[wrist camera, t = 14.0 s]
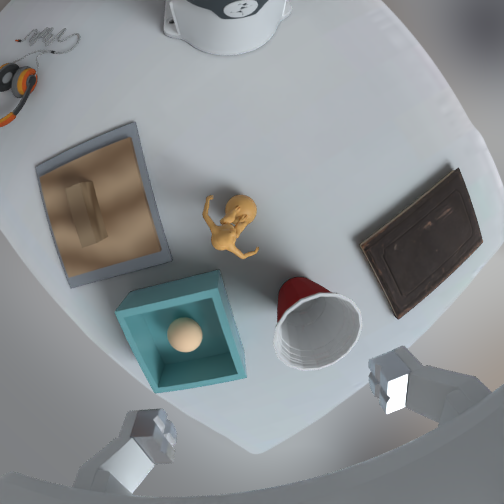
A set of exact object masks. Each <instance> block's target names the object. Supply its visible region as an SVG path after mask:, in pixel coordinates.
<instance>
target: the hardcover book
mask: <svg viewBox="0 0 504 504" xmlns="http://www.w3.org/2000/svg"><path fill="white" fill-rule="evenodd" d="M482 243H483V240H482V236H481V232H480V228H479V225H478V221H477V218H476V215H475V211H474V208H473V205H472V202H471V199H470V196H469V193H468V191H467V188H466V185H465V182H464V180H463V177H462V174H461V172H460V169H459V168H457V169H456V170H452V171H451V172H450V173H449V174H448V175H447V176H445V177H444V178H443V179H442V180H441V181H439V182H438V183H437V184H436V185H435V186H433V187H432V188H431V189H430V190H429V191H427V192H426V193H425V194H424V195H422V196H421V197H420V198H419V199H418V200H416V201H415V202H414V203H413V204H411V205H410V206H409V207H408V208H406V209H405V210H404V211H402V212H401V213H400V214H399V215H397V216H396V217H395V218H394V219H392V220H391V221H390V222H388V223H387V224H386V225H385V226H383V227H382V228H381V229H379V230H378V231H377V232H375V233H374V234H373V235H371V236H370V237H369V238H367V239H366V240H365V241H363V242H362V243H361V244H359V245H360V247H361V249H362V250H363V252H364V254H365V256H366V258H367V260H368V262H369V263H370V265H371V267H372V269H373V271H374V273H375V275H376V277H377V279H378V281H379V283H380V285H381V287H382V289H383V291H384V293H385V295H386V297H387V299H388V301H389V303H390V305H391V307H392V309H393V311H394V313H395V317H396V318H397V319H400V318H401V317H403V316H404V315H405V314H406V313H407V312H409V311H410V310H411V309H412V308H414V307H415V306H416V305H417V304H418V303H420V302H421V301H422V300H423V299H424V298H425V297H427V296H428V295H429V294H430V293H431V292H432V291H433V290H435V289H436V288H437V287H438V286H439V285H440V284H441V283H442V282H443V281H445V280H446V279H447V278H448V277H449V276H450V275H451V274H452V273H453V272H454V271H455V270H456V269H457V268H458V267H459V266H460V265H461V264H462V263H463V262H464V261H465V260H466V259H467V258H468V257H469V256H470V255H471V254H472V253H473V252H474V251H475V250H476V249H477V248H478V247H479V246H480V245H481V244H482Z"/></svg>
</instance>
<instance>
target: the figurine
mask: <svg viewBox="0 0 504 504" xmlns="http://www.w3.org/2000/svg"><path fill="white" fill-rule="evenodd" d="M210 196H211V195H210ZM210 196H209V197H208V196H207V198H206V203H205V206H204V211H203V214H202V215H203V218H204V219H205V221H206V223H207V224H208V226H209V227H210V230H211V232H212V237H211V243H212V245H213V247H214V248H215V249H217V250H228V251H230V252H232V253H234V254H235V255H237V256H238V257H239V258H241V259H245V258H247V257H249V256H252V255H254V254H256V253H257V252H258V250H259V249H258V248H259V247H258V248H257V247H256V249H255V251H251V252H248V253H245V254H243V253H242V252H241V251H240V250H239V249H238V248H236V246H235V241H236V238H238V237H239V235H240V233H241V232H242V231H243V230H244V228H245V227H246V226H247V225H248V224H249V223H251V222H252V221H253V220H254V218H255V216H256V212H257V208H256V204H255V202H254V201H253V200H252V199H251V198H250V197H248V196H246V195H236V196H234V197H232V198H231V199H230V200H229V201H228V202H227V204H226V208H225V213H226V215H225V217H224V218H222V219H221V220H220V223H221V224H222V225H221V226H217V225H215V223H214V222H213V221H212V219H211V218H210V217H209V216H208V208H209V200H211V199H213V198H211V197H212V196H213V195H212V196H211V197H210ZM230 223H232V224H234V225H235V226H233V225H232V224H230Z"/></svg>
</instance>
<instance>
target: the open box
mask: <svg viewBox="0 0 504 504" xmlns="http://www.w3.org/2000/svg"><path fill="white" fill-rule="evenodd" d="M115 314H116V317H117V319H118V321H119V323H120V326H121V328H122V330H123V332H124V334H125V337H126V339H127V341H128V343H129V345H130V347H131V349H132V351H133V353H134V355H135V357H136V359H137V361H138V363H139V365H140V367H141V369H142V371H143V373H144V375H145V377H146V378H147V380H148V382H149V384H150V386H151V388H152V389H153V391H154V393H162V392H170V391H177V390H184V389H190V388H196V387H202V386H208V385H213V384H219V383H224V382H229V381H234V380H238V379H243V378H247V374H246V364H245V353H244V348H243V345H242V342H241V339H240V336H239V333H238V329H237V326H236V323H235V320H234V316H233V313H232V310H231V307H230V303H229V300H228V297H227V293H226V290H225V287H224V283H223V280H222V277H221V273H220V270H215V271H211V272H207V273H203V274H199V275H195V276H191V277H187V278H183V279H179V280H175V281H171V282H167V283H163V284H159V285H155V286H151V287H147V288H143V289H139V290H135V291H131V292H130V293H129V294H128V295H127V296H126V298H125V299H124V300H123V302H122V303H121V304H120V305H119V307H118V308H117V309H116V311H115ZM182 317H187V318H191V319H193V320H194V321H196V322H197V323H198V324H199V326H200V327H201V330H202V341H201V343H200V345H199V346H198V347H197V348H196V349H195V350H193V351H191V352H180V351H178V350H176V349H174V348H173V347H172V346H171V344H170V343H169V341H168V337H167V331H168V328H169V326H170V324H171V323H172V322H173V321H174V320H176V319H178V318H182Z"/></svg>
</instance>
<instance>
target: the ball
mask: <svg viewBox="0 0 504 504" xmlns="http://www.w3.org/2000/svg"><path fill="white" fill-rule="evenodd" d="M167 337H168V341H169V343H170V344H171V346H172V347H173V348H174V349H176V350H178V351H180V352H191V351H193V350H195V349H196V348H197V347H198V346H199V345H200V343H201V341H202V330H201V327H200V326H199V324H198V323H197V322H196V321H194V320H193V319H191V318H187V317H182V318H178V319H176V320H174V321H173V322H172V323H171V324H170V326H169V328H168V331H167Z"/></svg>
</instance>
